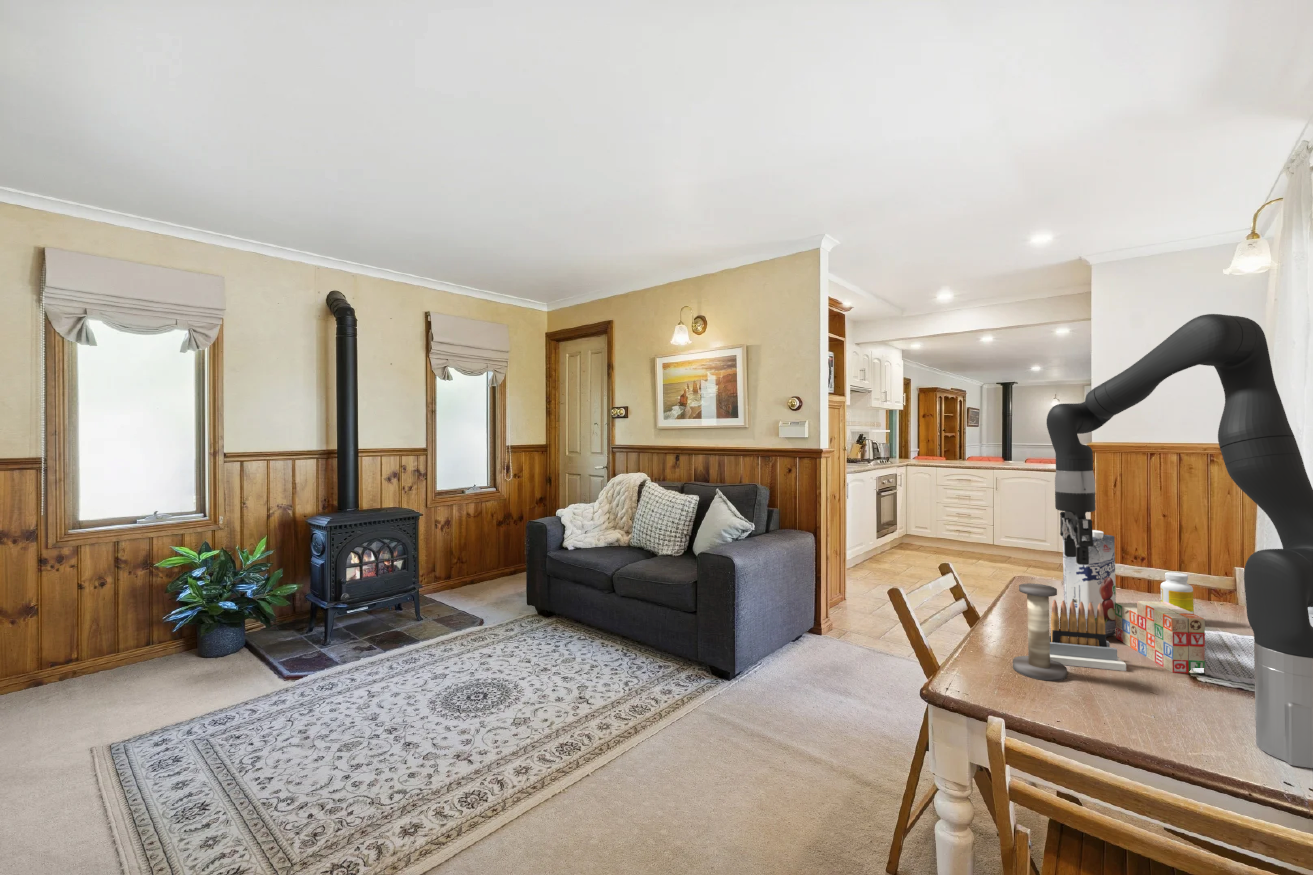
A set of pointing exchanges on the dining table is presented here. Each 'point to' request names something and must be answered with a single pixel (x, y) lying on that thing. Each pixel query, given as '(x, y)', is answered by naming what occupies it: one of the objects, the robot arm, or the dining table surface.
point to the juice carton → (1093, 580)
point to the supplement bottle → (1177, 591)
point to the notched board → (1086, 656)
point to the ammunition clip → (1081, 636)
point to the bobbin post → (1039, 637)
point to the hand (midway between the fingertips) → (1076, 560)
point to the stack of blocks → (1162, 634)
